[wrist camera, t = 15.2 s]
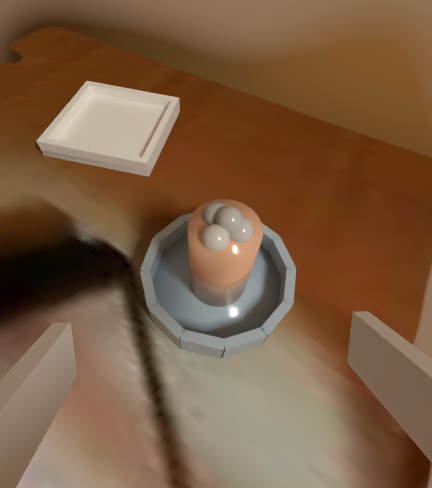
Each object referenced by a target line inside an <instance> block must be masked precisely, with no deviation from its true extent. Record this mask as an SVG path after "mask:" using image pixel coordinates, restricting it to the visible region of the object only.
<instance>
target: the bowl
mask: <svg viewBox="0 0 432 488" xmlns="http://www.w3.org/2000/svg"><path fill="white" fill-rule="evenodd" d="M191 215H192V213H190V214H185V215H182V217H181V216H179V217H178V218H177V219H176V220H174V221H173V222H172V223H171V224H169V225H168V226H167V227H165V228H164V229H163V230H162V231H160V232H159V233H158V234H156V235H155V236H154V238H153V239H152V241H151V244H150V246H149V249H148V251H147V254H146V256H145V259H144V261H143V264H142V266H141V269H140V274H141V279H142V284H143V288H144V293H145V298H146V303H147V307H148V310H149V313H150V316H151V319H152V321H153V322H154V323H155V324H156V325H157V326H158V327H159V328H160V329H161V330H162V331H163V332H164V333H165V334H166V335H167V336H168V337H169V338H170V339H171V340H172V341H173V342H174V343H175V344H176V345H177V346H178V347H179V348H180V347H181V349H184V350H188V351H192V352H196V353H200V354H204V355H209V356H213V357H217V358H221V356H222V358H225V357H228V356H231V355H234V354H237V353H240V352H244V351H247V350H250V349H253V348H256V347H259V346H260V345H262V344H263V343H264V341H265V340H266V339H267V338H268V336H269V335H270V334H271V333H272V331H273V330H274V329H275V328H276V326H277V325H278V324H279V323H280V321H281V320H282V319H283V318H284V316H285V315H286V314H287V313H288V311H289V310H290V309H291V307H292V306H293V303H294V290H295V277H296V269H295V268H296V267H295V265H294V263H293V261H292V259H291V257H290V255H289V253H288V251H287V249H286V247H285V245H284V243H283V241H282V239H281V238H280V237H279V235H277V234H276V233H275V232H273V231H272V230H271V229H269V228H268V227H266V226H265V225H264V224H262V226H263V238H262V241H261V244H260V247H259V250H258V253H257V256H256V259H255V261H254V264H253V267H252V270H251V273H250V276H249V279H248V282H247V285H246V288H245V290H244V293H243V294H242V296H241V297H240V298H239V299H238V300H237V301H236V302H234V303H233V304H231V305H228V306H224V307H213V306H209V305H206V304H204V303H202V302H201V301H200V300H198V299H197V298H196V297H195V295H194V294H193V292H192V291H191V288H190V284H189V259H188V230H187V228H188V221H189V219H190V216H191Z"/></svg>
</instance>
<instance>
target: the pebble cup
mask: <svg viewBox="0 0 432 488" xmlns="http://www.w3.org/2000/svg"><path fill="white" fill-rule="evenodd" d="M187 230H188V259H189V284H190V288H191V291H192V292H193V294H194V295H195V297H196V298H197V299H198V300H200V301H201V302H202V303H204V304H206V305H209V306H213V307H224V306H228V305H231V304H233V303H234V302H236V301H237V300H238V299H239V298H240V297H241V296H242V294H243V293H244V290H245V288H246V285H247V282H248V279H249V276H250V273H251V270H252V267H253V264H254V261H255V259H256V256H257V253H258V250H259V247H260V244H261V241H262V238H263V226H262V223H261V221H260V219H259V217H258V216H257V214H256V213H255V212H254V211H253V210H252V209H251V208H249V207H248V206H246V205H245V204H243V203H240V202H238V201H234V200H228V199H218V200H212V201H209V202H206V203H204V204H202V205H201V206H199V207H198V208H197V209H196V210H195V211H194V212H193V213H192V215H191V216H190V219H189V221H188V228H187Z"/></svg>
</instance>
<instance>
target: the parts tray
mask: <svg viewBox="0 0 432 488" xmlns="http://www.w3.org/2000/svg"><path fill="white" fill-rule="evenodd" d="M179 112H180V107H179V98H177V97H171V96H166V95H161V94H155V93H150V92H144V91H139V90H134V89H128V88H123V87H117V86H112V85H107V84H101V83H96V82H90V81H86V82H85V84H84V85H83V86H82V87H81V88H80V90H79V91H78V92H77V93H76V94H75V96H74V97H73V98H72V99H71V100H70V102H69V103H68V104H67V105H66V106H65V108H64V109H63V110H62V111H61V112H60V114H59V115H58V116H57V117H56V118H55V119H54V121H53V122H52V123H51V124H50V125H49V127H48V128H47V129H46V130H45V131H44V133H43V134H42V135H41V136H40V137H39V139H38V140H37V141H36V142H37V144H38V145H39V147H40V149H41V151H42V153H43V155H45V156H50V157H55V158H59V159H64V160H69V161H74V162H79V163H84V164H89V165H94V166H99V167H104V168H109V169H114V170H118V171H123V172H128V173H133V174H138V175H143V176H148V177H149V176H150V173H151V171H152V169H153V167H154V165H155V163H156V161H157V159H158V157H159V154H160V152H161V150H162V148H163V146H164V144H165V142H166V140H167V138H168V135H169V133H170V131H171V129H172V127H173V125H174V123H175V121H176V118H177V116H178V114H179Z"/></svg>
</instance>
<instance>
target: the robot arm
mask: <svg viewBox="0 0 432 488" xmlns="http://www.w3.org/2000/svg"><path fill="white" fill-rule="evenodd" d="M347 363H348V364H349V365H350V366H351V368H352V369H353V370H354V371H355V372H356V374H357V375H358V376H359V377H360V378H361V379H362V381H363V382H364V383H365V384H366V385H367V387H368V388H369V389H370V390H371V391H372V392H373V394H374V395H375V396H376V397H377V398H378V400H379V401H380V402H381V403H382V404H383V406H384V407H385V408H386V409H387V410H388V411H389V413H390V414H391V415H392V416H393V417H394V419H395V420H396V421H397V422H398V423H399V424H400V426H401V427H402V428H403V429H404V430H405V432H406V433H407V434H408V435H409V436H410V437H411V439H412V440H413V441H414V442H415V443H416V445H417V446H418V447H419V448H420V449H421V450H422V452H423V453H424V454H425V455H426V456H427V458H428V459H429V460H430V461H431V462H432V360H431V359H430V358H429V357H427V356H426V355H425V354H423V353H422V352H421V351H420V350H418V349H417V348H416V347H414V346H413V345H412V344H410V343H409V342H408V341H406V340H405V339H404V338H402V337H401V336H400V335H398V334H397V333H396V332H395V331H393V330H392V329H391V328H389V327H388V326H387V325H385V324H384V323H383V322H381V321H380V320H379V319H377V318H376V317H375V316H374V315H372V314H371V313H370V312H368V311H362V312H353V316H352V324H351V333H350V341H349V350H348V358H347ZM76 377H77V372H76V364H75V355H74V346H73V337H72V328H71V322H65V323H52V324H51V325H50V327H49V328H48V329H47V330H46V331H45V332H44V333H43V334H42V335H41V336H40V338H39V339H38V340H37V341H36V342H35V343H34V344H33V345H32V346H31V347H30V349H29V350H28V351H27V352H26V353H25V354H24V355H23V356H22V357H21V358H20V360H19V361H18V362H17V363H16V364H15V365H14V366H13V367H12V368H11V369H10V371H9V372H8V373H7V374H6V375H5V376H4V377H3V378H2V379H1V380H0V488H16V486H17V485H18V483H19V481H20V479H21V477H22V476H23V474H24V472H25V470H26V468H27V466H28V465H29V463H30V461H31V459H32V457H33V456H34V454H35V452H36V450H37V448H38V446H39V445H40V443H41V441H42V439H43V437H44V436H45V434H46V432H47V430H48V428H49V426H50V425H51V423H52V421H53V419H54V417H55V416H56V414H57V412H58V410H59V408H60V406H61V405H62V403H63V401H64V399H65V397H66V396H67V394H68V392H69V390H70V388H71V386H72V385H73V383H74V381H75V379H76Z"/></svg>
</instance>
